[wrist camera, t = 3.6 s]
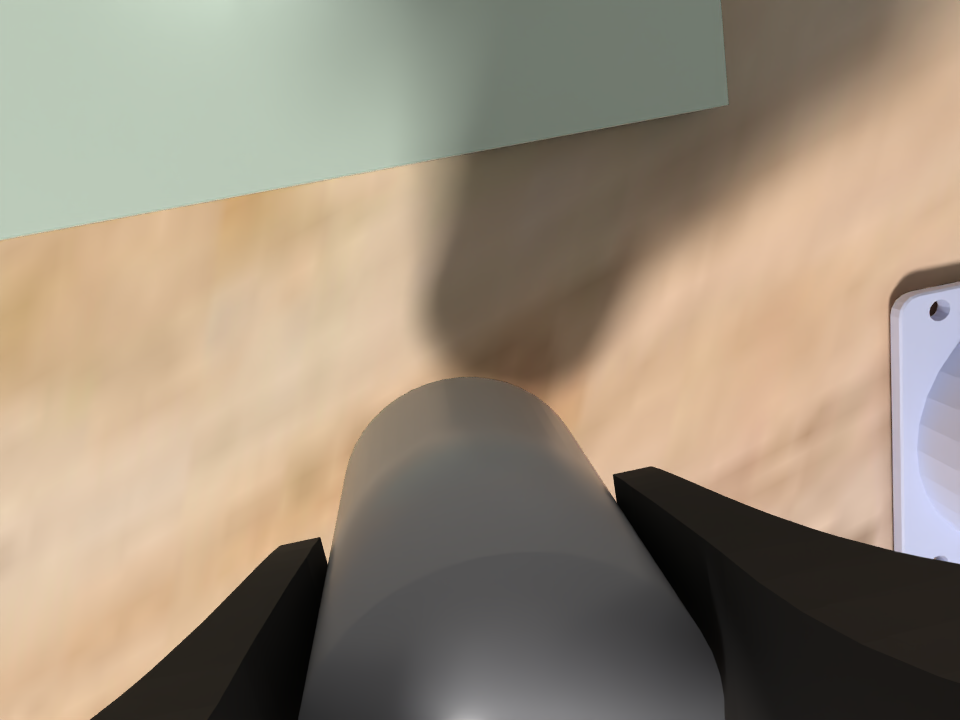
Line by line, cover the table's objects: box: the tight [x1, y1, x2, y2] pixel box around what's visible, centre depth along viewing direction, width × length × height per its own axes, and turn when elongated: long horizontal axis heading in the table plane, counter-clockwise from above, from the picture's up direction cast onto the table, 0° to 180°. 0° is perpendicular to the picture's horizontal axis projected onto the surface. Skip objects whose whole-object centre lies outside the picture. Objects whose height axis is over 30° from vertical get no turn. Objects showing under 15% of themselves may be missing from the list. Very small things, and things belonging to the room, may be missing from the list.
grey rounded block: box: [298, 377, 725, 720], centre depth 10 cm, size 4×5×6 cm
